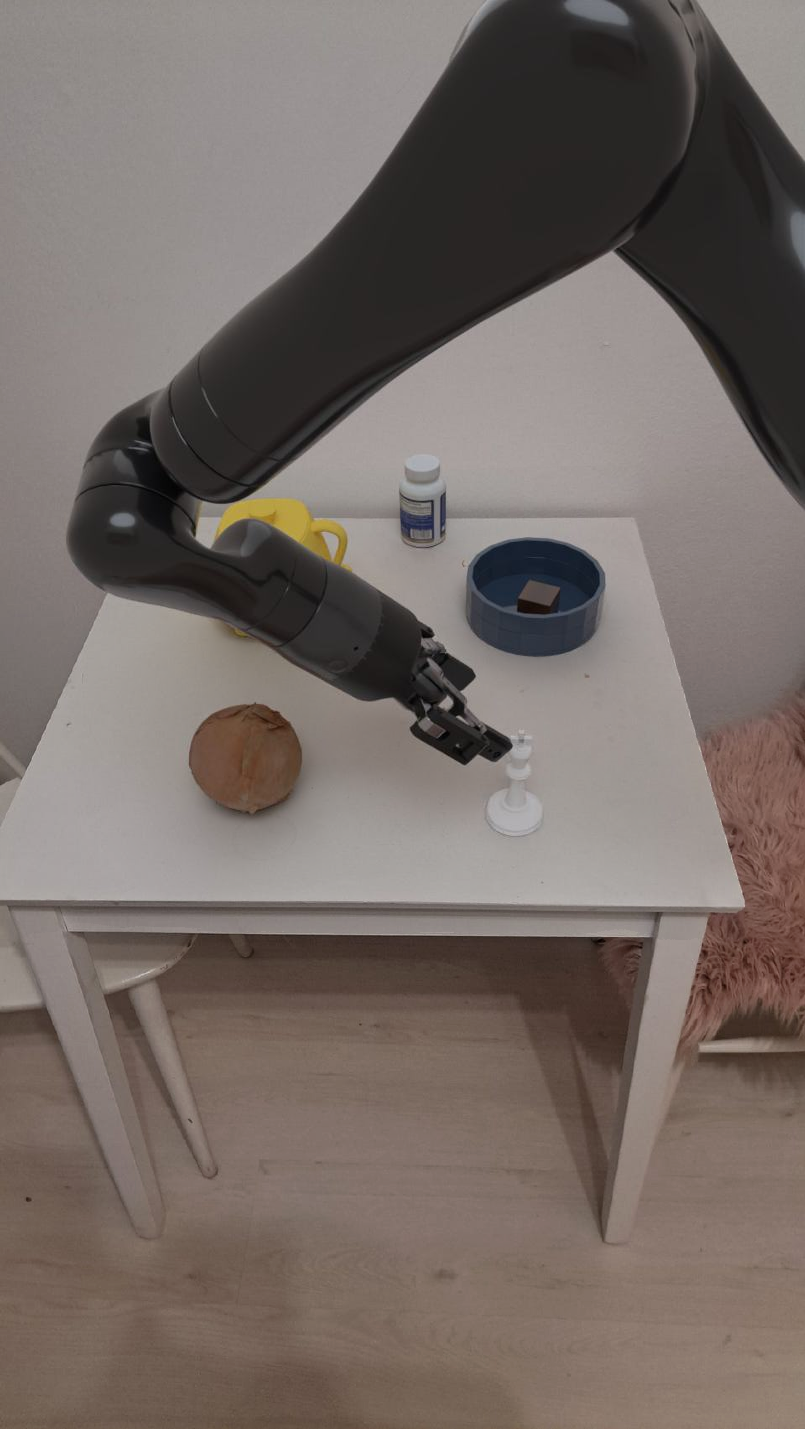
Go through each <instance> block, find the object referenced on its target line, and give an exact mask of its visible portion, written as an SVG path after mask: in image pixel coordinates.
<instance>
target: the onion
mask: <svg viewBox="0 0 805 1429" xmlns="http://www.w3.org/2000/svg"><path fill="white" fill-rule="evenodd" d="M302 764H303V750H302V746H301V742H300V739H299V737H298V735H297V732H296V731H295V728H294V727H293V726H292V723H291V721H288V720H287V719H286V718H285V717H284V716H283V715H282V714H281V712H280V711H278V710H273V709H271V707H269V706H268V705H265V704H263V703H257V702H256V701H254V702H253V703H251V704H250V703H248V704H247V703H243V704H237V705H233V706H229V707H226V708H222V709H220V710H218V711H214V712H213V713H211V714H210V715H208V716H207V717H206V718H205V719H204V720H203V721H202V722H201V723H200V724H199V725H198V727H197V729H196V730H195V732H194V734H193V736H192V739H191V742H190V746H189V752H188V766H189V769H190V773H191V775H192V777H193V779H194V781H195V783H196V785H197V786H198V787H199V788H200V790H201V791H202V792H203V793H204V794H205V795H206V796H207V797H209V798H210V799H211V800H213V801H214V802H215V803H216V804H219V805H221V806H223V807H226V808H228V809H232V810H234V811H241V813H242V814H245V813H248V812H249V814H251V815H253V814H255V813H256V811H259V810H262V809H265V808H268V807H270V806H272V805H278V804H279V803H281V802H283V801H284V800H286V799H287V798H289V797H290V796H291V792H292V791H293V787H294V786H295V783H296V782H297V780H298V778H299V776H300V773H301V770H302Z"/></svg>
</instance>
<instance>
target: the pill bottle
mask: <svg viewBox="0 0 805 1429" xmlns="http://www.w3.org/2000/svg"><path fill="white" fill-rule="evenodd" d="M398 495H399V519H400V520H399V521H400V522H399V523H400V535H401V539H402V541H403V542H405V543H406V544H407V545H409V546H411V547H415V548H429V547H433V546H437V545H438V544H440V543H441V542H442V541H444V540H445V537H446V533H447V532H446V531H447V483H446V480H445V478H444V477H443V476H442V475H441V462H440V460H439V458H438V457H437V456H434V455H432V454H427V453H420V454H414V455H411V456H409V457H408V458H406V460H405V461H404V475H403V477H402V478H401V479H400V480H399V485H398Z"/></svg>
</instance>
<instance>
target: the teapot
mask: <svg viewBox="0 0 805 1429" xmlns="http://www.w3.org/2000/svg"><path fill="white" fill-rule="evenodd" d="M245 518H253V519H259V520H262V521H264V522H267V523H269V524H271V525H273V526H275V527H276V528H278V529H280V530H281V531H283V532H284V533H286V534H287V535H288V536H290V537H291V538H293V539H294V540H296V541H298V542H299V543H301V544H302V545H304V546H305V547H307V548H308V549H310V550H311V551H313V552H314V553H316V554H317V555H319V556H321V557H323V558H325V559H327V560H329V561H331V562H333V563H335V564H338V565H340V566H342V567H344V568H346V569H347V570H349V571H351V572H352V573H354V572H353V569H352V568H351V566H349V565H347V564H342V562H343V560H344V558H345V555H346V552H347V548H348V543H349V542H348V541H349V540H348V535H347V532H346V530H345V528H344V527H343V526H342V525H341V524H339V523H338V522H335V521H334V520H331V519H325V518H324V519H323V518H322V519H317V520H315V519H314V516H312V514H311V512H310V511H309V510H308V508H307V507H306V505H305V504H304V503H303V502H301V501H300V500H298V499H295V498H286V497H285V498H283V497H282V498H280V497H278V498H277V497H276V498H256V499H246V500H240V501H237V502H234V503H232V504H230V506H229V507H228V508H227V509H226V510H225V512H224V513H223V514H222V517H221V518H220V521H219V524H218V526H217V530H216V533H215V536H214V539H213V543H214V542H215V540H216V539H217V538H218V536H219V535H220V534H221V533H222V532H223V531H224V530H225V529H226V528H227V527H228V526H230V525H231V524H233V523H234V522H236V521H238V520H241V519H245ZM323 532H324V533H330V534H333V535H335V536H336V537H337V539H338V544H337V549H336V552H335V555H334V558H333V560H332V555H331V552H330V549H329V547H328V544H327V541H326V539H325V537H324V535H323ZM213 543H212V544H213ZM231 628H233V627H231ZM233 629H234V630H233V631H234V633H235V634H236V635H238V636H241V637H248V636H247V635H246V634H244V633H242V632H240V631H238V630H236V629H235V628H233Z"/></svg>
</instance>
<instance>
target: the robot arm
mask: <svg viewBox="0 0 805 1429" xmlns="http://www.w3.org/2000/svg"><path fill="white" fill-rule="evenodd" d="M611 252H612V253H613V254H615V256H617V257H618V258H619V259H620V261H622V262H623V263H624V264H626V265H627V266H628V268H630V269H631V270H632V271H633V272H634V273H635V274H636V275H638V276H639V277H640V278H641V279H642V280H643V281H644V282H645V283H646V284H648V286H650V288H652V289H653V290H654V292H655V293H656V294H658V295H659V297H660V298H661V299H662V300H663V301H664V302H665V303H666V304H667V305H668V306H669V307H670V308H671V309H672V311H673V312H674V313H675V314H676V316H677V317H678V318H679V319H680V321H681V322H682V323H683V325H684V326H685V327H686V329H687V330H688V332H689V333H690V335H691V337H692V338H693V339H694V341H695V342H696V344H697V346H698V347H699V348H700V350H701V352H702V354H703V356H704V357H705V359H706V361H707V363H708V364H709V366H710V368H711V370H712V371H713V374H714V375H715V378H717V380H718V383H719V385H720V386H721V388H722V390H723V391H724V393H725V394H726V396H727V399H728V400H729V402H730V404H731V406H732V408H733V410H734V412H735V413H736V415H737V417H738V418H739V420H740V423H741V424H742V425H743V427H744V429H745V431H746V432H747V434H748V435H749V438H750V439H751V441H752V442H753V444H754V446H755V447H756V449H757V451H758V452H759V453H760V455H761V456H762V458H763V459H764V461H765V462H766V464H767V466H768V467H769V468H770V470H771V471H772V472H773V474H774V475H775V477H776V478H777V480H778V481H779V482H780V483H781V485H782V486H783V487H784V489H785V490H786V491H787V492H788V493H789V495H790V496H791V497H792V498H793V499H794V500H795V502H796V503H797V504H798V505H799V506H800V507H801V508H802V510H804V511H805V159H804V158H803V156H802V155H801V153H800V152H799V151H798V150H797V148H796V147H795V146H794V144H793V143H792V141H790V139H789V138H788V136H787V135H786V133H785V131H784V130H783V129H782V127H781V126H780V125H779V123H778V122H777V120H776V119H775V117H774V115H772V113H771V112H770V110H769V108H768V106H766V104H765V103H764V101H763V100H762V98H761V97H760V95H759V94H758V93H757V91H756V90H755V89H754V87H753V86H752V84H751V83H750V81H749V80H748V79H747V76H746V75H745V74H744V72H743V70H742V69H741V68H740V67H739V65H738V63H737V62H736V60H735V59H734V57H733V55H732V54H731V52H730V50H729V49H728V48H727V46H726V45H725V43H724V41H723V40H722V38H721V36H720V34H718V32H717V30H716V28H714V25H713V24H712V22H711V20H710V19H709V17H708V16H707V14H706V13H705V11H704V9H703V7H701V5H700V4H699V2H698V0H484V1H482V3H481V4H480V6H478V8H477V10H476V11H475V12H474V14H473V15H472V17H470V19H469V20H468V21H467V23H466V24H465V26H464V27H463V29H462V31H461V32H460V35H459V38H458V39H457V41H456V44H455V45H454V47H453V50H452V52H451V54H450V56H449V59H448V62H447V65H446V67H445V68H444V70H443V72H442V73H441V74H440V76H439V77H438V80H437V81H436V83H435V84H434V85H433V87H432V88H431V90H430V92H429V93H428V95H427V97H425V99H424V101H423V102H422V104H421V106H420V107H419V109H418V111H417V112H416V114H415V115H414V117H413V118H412V120H411V121H410V123H409V124H408V126H407V127H406V128H405V130H404V132H403V133H402V135H401V136H400V138H399V140H398V141H397V143H396V145H394V147H393V149H392V150H391V152H390V154H389V155H388V156H387V158H386V159H385V161H384V162H383V164H382V165H381V167H380V168H379V169H378V171H376V174H375V175H374V176H373V178H372V179H371V181H370V183H368V185H367V186H366V188H365V189H364V190H363V191H362V192H361V194H360V195H359V196H358V198H357V199H356V200H355V201H354V202H353V204H352V205H351V206H350V208H349V209H348V210H347V211H346V212H345V213H344V215H343V216H342V217H341V218H340V219H339V220H338V222H336V224H335V225H334V226H333V227H332V228H331V229H330V230H329V232H328V233H327V234H326V235H325V236H324V237H323V238H322V239H321V240H320V241H319V242H318V244H316V245H315V247H313V249H312V250H310V251H309V252H308V253H307V254H306V255H305V256H304V257H303V258H302V259H300V261H298V262H297V263H296V264H295V265H293V266H292V267H291V268H290V269H288V270H287V271H286V272H285V273H283V274H282V275H281V276H280V277H278V278H277V279H276V280H275V281H274V282H272V283H271V284H270V285H268V286H267V287H266V288H265V289H263V290H262V291H261V292H260V293H258V294H257V295H256V296H255V297H254V298H253V299H251V300H250V301H249V302H247V303H246V304H245V305H244V306H243V307H241V309H239V311H237V312H236V313H235V314H234V315H232V317H231V318H230V319H229V320H228V321H227V322H226V323H224V324H223V325H222V327H220V328H219V330H218V331H216V333H214V334H213V335H212V336H211V337H210V339H208V341H206V343H204V345H203V346H202V347H201V348H200V349H199V350H198V351H197V352H196V353H195V354H194V355H193V356H192V357H191V358H190V360H189V361H188V362H187V363H186V364H185V365H184V366H183V367H182V368H181V369H180V370H179V371H178V372H177V373H176V375H174V376H173V378H172V379H171V380H170V381H169V383H168V384H167V385H166V386H164V387H162V388H160V389H158V390H155V391H152V392H151V393H149V394H147V395H146V396H143V397H142V398H140V399H138V400H137V401H135V402H133V403H131V404H129V405H127V406H126V407H124V408H122V409H121V410H120V411H118V412H116V413H115V414H114V415H113V416H112V417H110V419H109V420H108V421H107V422H105V424H104V425H103V426H102V428H101V429H100V430H99V431H98V432H97V434H96V436H95V437H94V439H93V441H92V442H91V444H90V446H89V448H88V451H87V453H86V456H85V459H84V463H83V466H82V471H81V474H80V478H79V482H78V485H77V489H76V493H75V497H74V500H73V504H72V507H71V512H70V515H69V519H68V522H67V526H66V529H65V530H66V531H65V546H66V550H67V554H68V555H69V558H70V560H71V562H72V563H73V564H74V566H75V568H76V569H77V570H78V572H80V573H81V574H82V576H83V577H84V578H85V579H87V581H88V582H90V583H91V584H92V585H93V586H95V587H96V588H98V589H100V590H102V592H105V593H107V594H109V595H111V596H114V597H116V598H119V599H125V600H128V601H132V602H136V603H142V604H147V605H153V606H157V607H162V608H166V609H167V608H168V609H171V610H176V611H180V612H184V613H188V614H191V615H195V616H200V617H203V618H204V617H205V618H209V619H213V620H215V621H219V622H221V623H224V624H226V625H227V626H229V627H231V628H232V627H233V629H234V628H235V629H236V630H238V631H240V632H242V633H244V634H246V635H247V636H246V637H249V638H251V639H253V640H255V641H256V642H259V643H260V644H262V645H264V646H266V647H267V648H269V649H271V650H272V651H273V652H275V653H276V654H278V656H279V657H281V658H283V659H284V660H286V661H287V662H288V663H290V664H291V665H293V666H295V667H297V668H299V669H301V670H302V671H304V672H306V673H308V674H310V675H311V676H313V677H316V678H317V679H319V680H321V681H323V682H324V683H326V684H328V685H330V686H332V687H334V688H336V689H338V690H339V691H341V692H343V693H345V694H347V695H349V696H351V697H352V698H355V699H356V700H358V701H361V702H368V703H369V702H377V701H380V700H385V699H386V700H387V699H393V700H394V701H395V703H397V704H398V705H399V707H401V708H402V709H403V710H406V711H410V712H411V713H412V714H413V715H414V716H415V717H416V720H415V721H414V722H413V723H412V725H411V726H410V727H409V730H410V732H411V734H412V735H413V736H414V737H415V738H416V739H417V740H419V741H420V742H423V743H425V744H426V745H428V746H429V747H430V748H433V749H435V750H437V751H438V752H440V753H442V754H443V755H445V756H446V757H449V758H450V759H452V760H454V761H455V762H457V763H459V764H461V765H463V766H467V765H469V763H470V762H472V761H473V760H474V759H475V758H476V757H477V756H480V757H482V758H484V759H485V760H487V761H489V762H491V763H498V762H499V761H500V760H501V759H502V758H503V757H504V756H505V755H506V754H507V755H508V752H509V751H510V750H511V749H512V747H513V745H512V743H511V741H510V737H509V736H506V734H503V733H502V732H500V731H498V730H496V729H495V728H493V727H491V726H490V725H488V724H486V723H484V722H483V721H482V720H480V719H479V718H478V717H477V716H476V715H475V714H474V713H473V712H472V711H471V710H470V709H469V708H468V706H467V705H468V699H467V697H466V696H465V695H464V694H463V693H462V691H464V690H465V689H466V688H467V687H468V686H470V685H471V683H472V682H473V681H475V679H476V677H477V675H476V673H475V671H474V669H473V667H470V666H469V665H467V664H465V663H464V662H462V661H461V660H459V658H456V657H454V655H452V654H450V653H448V651H447V649H446V647H445V646H444V644H442V643H441V642H440V641H435V640H434V639H433V638H434V637H435V635H436V634H435V632H434V630H433V628H432V627H430V626H429V625H426V624H425V623H423V622H422V621H420V620H419V619H418V618H417V616H416V615H415V613H413V612H412V611H411V610H410V609H409V608H407V607H405V606H404V605H403V604H401V603H400V602H398V601H397V600H395V599H394V598H392V597H390V596H389V595H387V594H386V593H384V592H383V591H381V590H379V589H378V588H377V587H375V586H373V585H372V584H371V583H369V582H367V581H366V580H365V579H363V578H361V577H360V576H359V575H357V574H356V573H354V572H353V571H352V572H353V573H352V572H351V571H349V570H347V569H346V568H344V567H342V566H340V565H338V564H335V563H333V561H332V562H331V561H329V560H327V559H325V558H323V557H321V556H319V555H317V554H316V553H314V552H313V551H311V550H310V549H308V548H307V547H305V546H304V545H302V544H301V543H299V542H298V541H296V540H294V539H293V538H291V537H290V536H288V535H287V534H286V533H284V532H283V531H281V530H280V529H278V528H276V527H275V526H273V525H271V524H269V523H267V522H264V521H262V520H259V519H253V518H245V519H241V520H238V521H236V522H234V523H233V524H231V525H230V526H228V527H227V528H226V529H225V530H224V531H223V532H222V533H221V534H220V535H219V536H218V538H217V539H216V540H215V542H214V541H213V542H214V543H212V545H211V547H210V548H209V547H208V546H206V545H204V544H203V543H202V542H200V541H199V540H198V539H197V538H196V537H197V532H198V526H199V522H200V515H201V509H202V505H203V502H204V503H209V504H213V505H228V504H235V503H237V502H241V501H243V500H245V499H246V498H248V497H250V496H252V495H253V494H255V493H257V492H258V491H260V490H261V489H263V487H265V485H267V484H268V483H269V482H271V481H272V480H274V479H275V478H276V477H277V476H279V475H280V474H281V473H282V472H283V471H285V470H286V469H287V468H288V467H290V466H291V465H292V464H293V463H294V462H296V461H297V460H298V459H300V458H301V457H302V456H303V455H304V454H306V453H307V452H308V451H309V450H311V448H313V447H314V446H316V445H317V443H319V442H320V441H322V439H324V438H325V437H326V436H327V435H329V434H330V433H331V432H332V431H333V430H334V429H335V428H337V427H338V426H339V425H340V424H341V423H342V422H344V421H345V420H346V419H347V418H348V417H350V416H351V415H352V414H353V413H355V411H357V410H358V409H359V408H360V407H362V406H363V405H364V404H365V403H367V402H368V401H369V400H370V399H371V398H373V397H374V396H375V395H376V394H378V393H379V392H380V391H381V390H382V389H384V388H385V387H386V386H388V385H389V384H390V383H391V382H393V381H394V380H396V379H397V378H399V376H401V375H402V374H404V373H406V371H408V370H409V369H411V368H412V367H413V366H415V365H417V364H418V363H420V362H421V361H422V360H424V359H425V358H427V357H428V356H429V355H431V354H433V353H434V352H436V351H437V350H439V349H441V348H442V347H444V346H445V345H447V344H448V343H450V342H452V341H453V340H455V339H457V338H458V337H460V336H461V335H464V334H465V333H466V332H468V331H469V330H471V329H473V328H475V327H477V326H478V325H480V324H481V323H483V322H485V321H487V320H489V319H491V318H492V317H494V316H496V315H497V314H500V313H502V312H504V311H505V310H507V309H509V308H512V306H514V305H517V304H518V303H520V302H522V301H524V300H526V299H528V298H531V296H533V295H535V294H538V293H539V292H541V291H543V290H544V289H547V288H548V287H550V286H552V285H553V284H556V283H557V282H559V281H561V280H563V279H565V278H567V277H568V276H570V275H572V274H573V273H576V272H578V271H579V270H581V269H582V268H583V269H584V268H585V267H586V266H589V265H591V264H592V263H594V262H595V261H597V260H599V259H601V258H603V257H604V256H606V255H608V254H609V253H611ZM447 697H449V699H451V701H452V704H451V705H449V707H440V704H441V703H443V702H444V700H446V699H447ZM458 717H460V718H461V719H460V718H458Z"/></svg>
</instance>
